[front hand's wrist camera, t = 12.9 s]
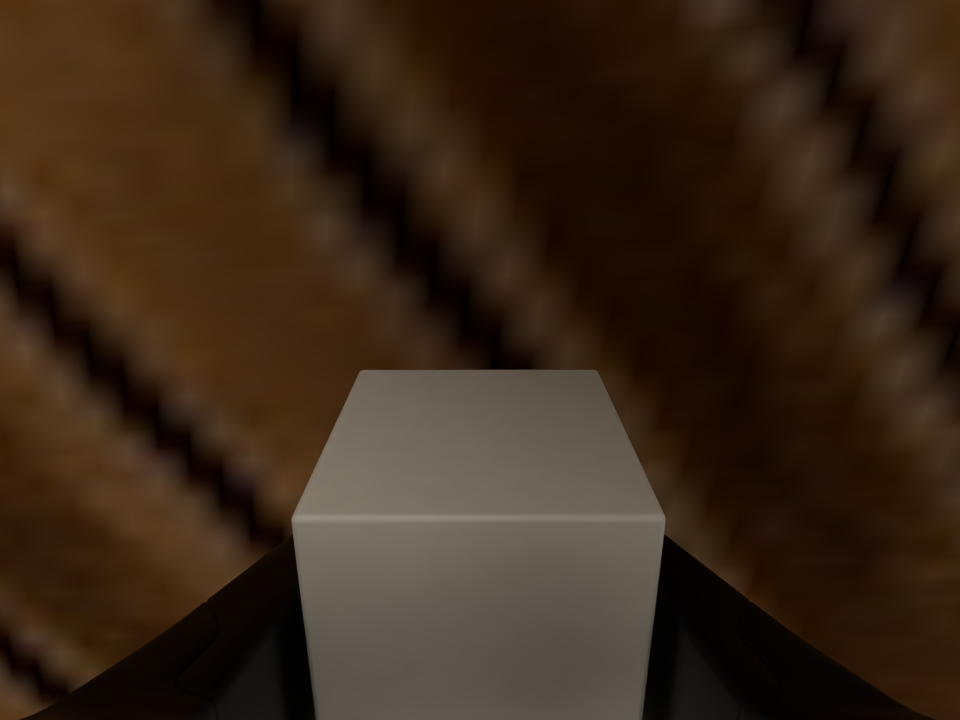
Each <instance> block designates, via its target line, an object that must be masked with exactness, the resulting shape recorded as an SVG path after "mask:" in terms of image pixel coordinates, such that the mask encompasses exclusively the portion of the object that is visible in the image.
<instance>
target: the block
mask: <svg viewBox="0 0 960 720" xmlns="http://www.w3.org/2000/svg"><path fill="white" fill-rule="evenodd" d="M291 522H292V530H293V538H294V547H295V555H296V563H297V571H298V579H299V587H300V596H301V604H302V612H303V620H304V628H305V636H306V645H307V653H308V661H309V669H310V677H311V685H312V694H313V702H314V710H315V718H316V720H642V716H643V708H644V699H645V691H646V682H647V674H648V665H649V657H650V649H651V640H652V632H653V623H654V615H655V606H656V598H657V590H658V581H659V573H660V564H661V556H662V547H663V539H664V530H665V522H666V518H665V515H664V513H663V511H662V509H661V507H660V504H659V502H658V500H657V498H656V496H655V494H654V492H653V489H652V487H651V485H650V483H649V481H648V479H647V476H646V474H645V472H644V470H643V468H642V466H641V464H640V461H639V459H638V457H637V455H636V453H635V451H634V449H633V446H632V444H631V442H630V440H629V438H628V436H627V433H626V431H625V429H624V427H623V425H622V423H621V421H620V418H619V416H618V414H617V412H616V410H615V408H614V406H613V403H612V401H611V399H610V397H609V395H608V393H607V390H606V388H605V386H604V384H603V382H602V380H601V378H600V375H599V373H598V371H596V370H362V371H360V372H359V374H358V376H357V379H356V381H355V383H354V385H353V387H352V389H351V391H350V394H349V396H348V398H347V400H346V402H345V404H344V406H343V409H342V411H341V413H340V415H339V417H338V419H337V421H336V424H335V426H334V428H333V430H332V432H331V434H330V436H329V439H328V441H327V443H326V445H325V447H324V449H323V452H322V454H321V456H320V458H319V460H318V462H317V464H316V467H315V469H314V471H313V473H312V475H311V477H310V479H309V482H308V484H307V486H306V488H305V490H304V492H303V494H302V497H301V499H300V501H299V503H298V505H297V507H296V509H295V512H294V514H293V516H292V519H291Z"/></svg>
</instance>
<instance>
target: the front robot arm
mask: <svg viewBox="0 0 960 720" xmlns="http://www.w3.org/2000/svg"><path fill="white" fill-rule="evenodd" d="M20 720H316V718H315V710H314V702H313V694H312V685H311V677H310V669H309V661H308V653H307V645H306V636H305V628H304V620H303V612H302V604H301V596H300V587H299V579H298V571H297V563H296V555H295V547H294V538H293V534H292V535H291V536H290V537H289V538H287V539H286V540H285V541H283V542H282V543H281V544H279V545H278V546H277V547H276V548H274V549H273V550H272V551H270V552H269V553H268V554H266V555H265V556H264V557H263V558H261V559H260V560H259V561H257V562H256V563H255V564H253V565H252V566H251V567H249V568H248V569H247V570H246V571H244V572H243V573H242V574H240V575H239V576H238V577H236V578H235V579H234V580H233V581H231V582H230V583H229V584H227V585H226V586H225V587H223V588H222V589H221V590H220V591H218V592H217V593H216V594H214V595H213V596H212V597H210V598H209V599H208V600H207V602H204V603H202V604H201V605H200V606H198V607H197V608H196V609H194V610H193V611H192V612H191V613H189V614H188V615H187V616H185V617H184V618H183V619H181V620H180V621H178V622H177V623H176V624H174V625H173V626H172V627H170V628H169V629H167V630H166V631H165V632H163V633H162V634H161V635H159V636H158V637H156V638H155V639H153V640H152V641H150V642H149V643H147V644H146V645H144V646H143V647H141V648H140V649H138V650H137V651H135V652H134V653H132V654H131V655H129V656H128V657H126V658H124V659H123V660H121V661H120V662H118V663H117V664H115V665H114V666H112V667H111V668H109V669H107V670H106V671H104V672H103V673H101V674H100V675H98V676H97V677H95V678H93V679H92V680H90V681H89V682H87V683H86V684H84V685H83V686H81V687H80V688H78V689H76V690H75V691H73V692H72V693H70V694H69V695H67V696H66V697H64V698H62V699H61V700H59V701H58V702H56V703H54V704H53V705H51V706H49V707H48V708H46V709H44V710H42V711H40V712H38V713H35V714H33V715H31V716H28V717H25V718H23V719H20ZM642 720H935V719H932V718H929V717H927V716H924V715H922V714H919V713H917V712H915V711H913V710H911V709H909V708H907V707H906V706H904V705H902V704H901V703H899V702H897V701H896V700H894V699H893V698H891V697H890V696H888V695H887V694H885V693H883V692H882V691H880V690H879V689H877V688H876V687H874V686H873V685H871V684H870V683H868V682H866V681H865V680H863V679H862V678H860V677H859V676H857V675H856V674H854V673H853V672H851V671H850V670H848V669H846V668H845V667H843V666H842V665H840V664H839V663H837V662H836V661H834V660H833V659H831V658H830V657H828V656H826V655H825V654H823V653H822V652H820V651H819V650H817V649H816V648H815V647H813V646H812V645H810V644H809V643H807V642H806V641H804V640H803V639H801V638H800V637H798V636H797V635H795V634H794V633H792V632H791V631H790V630H788V629H787V628H786V627H784V626H783V625H782V624H780V623H779V622H778V621H776V620H775V619H773V618H772V617H771V616H769V615H768V614H767V613H765V612H764V611H763V610H762V609H760V608H759V607H758V606H756V605H755V604H754V603H752V602H750V603H749V600H748V599H747V598H746V597H745V596H743V595H742V594H741V593H739V592H738V591H737V590H735V589H734V588H733V587H732V586H730V585H729V584H728V583H726V582H725V581H724V580H723V579H721V578H720V577H719V576H717V575H716V574H715V573H714V572H712V571H711V570H710V569H708V568H707V567H706V566H704V565H703V564H702V563H701V562H699V561H698V560H697V559H695V558H694V557H693V556H692V555H690V554H689V553H688V552H686V551H685V550H684V549H682V548H681V547H680V546H679V545H677V544H676V543H675V542H673V541H672V540H671V539H670V538H668V537H667V536H666V535H664V539H663V547H662V556H661V564H660V573H659V581H658V590H657V598H656V606H655V615H654V623H653V632H652V640H651V649H650V657H649V665H648V674H647V682H646V691H645V699H644V708H643V716H642Z"/></svg>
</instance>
